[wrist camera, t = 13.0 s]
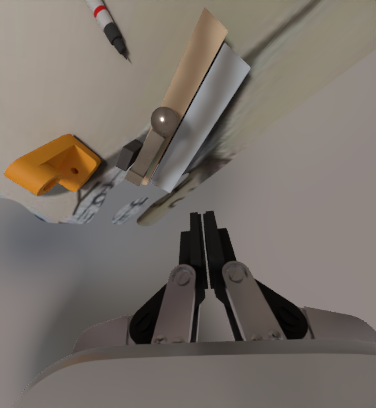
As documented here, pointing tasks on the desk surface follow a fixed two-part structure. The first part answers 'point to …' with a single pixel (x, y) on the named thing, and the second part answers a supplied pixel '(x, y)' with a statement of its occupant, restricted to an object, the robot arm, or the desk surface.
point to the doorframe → (201, 106)
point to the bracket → (54, 166)
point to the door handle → (153, 142)
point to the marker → (106, 24)
